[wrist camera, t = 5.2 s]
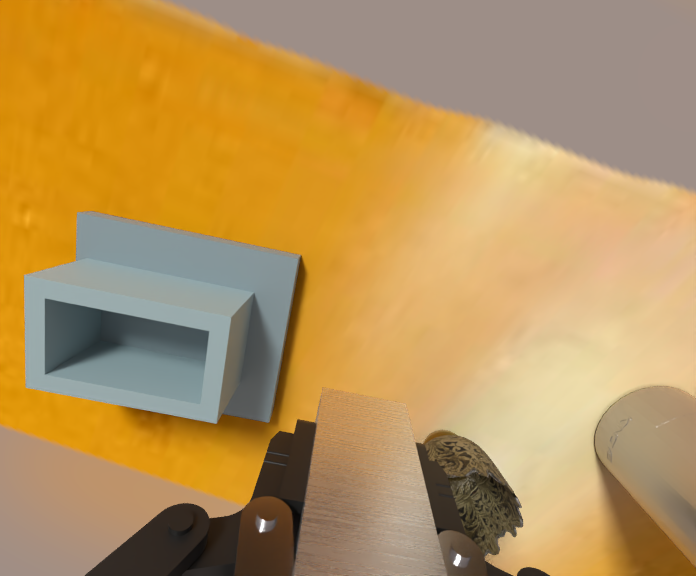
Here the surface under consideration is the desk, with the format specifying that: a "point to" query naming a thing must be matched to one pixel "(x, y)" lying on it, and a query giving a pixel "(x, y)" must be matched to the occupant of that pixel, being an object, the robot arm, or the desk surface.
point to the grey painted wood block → (365, 494)
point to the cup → (476, 489)
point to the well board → (161, 321)
